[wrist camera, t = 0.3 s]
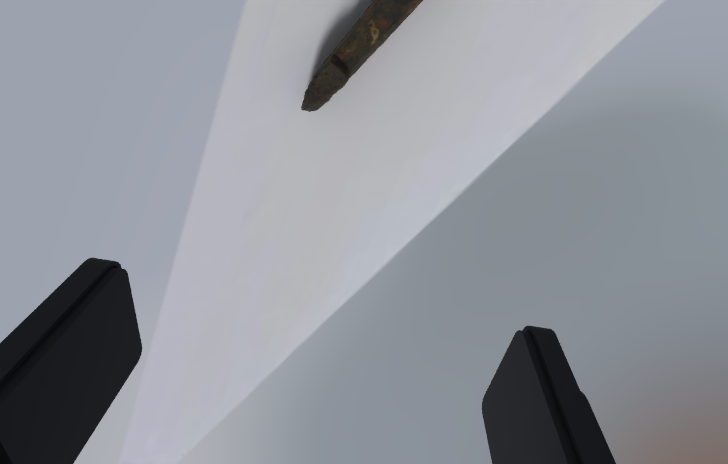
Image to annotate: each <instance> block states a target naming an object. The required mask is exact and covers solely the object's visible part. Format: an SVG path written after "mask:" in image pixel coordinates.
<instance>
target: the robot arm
mask: <svg viewBox="0 0 728 464" xmlns="http://www.w3.org/2000/svg"><path fill="white" fill-rule="evenodd" d="M141 352H142V344H141V339H140V334H139V329H138V323H137V319H136V314H135V309H134V303H133V298H132V294H131V288H130V283H129V278H128V273H127V271H126V270H125V269H122V268H121V265H120V264H119V263H118V262H115V261H110V260H102V259H97V258H89V259H87V260H86V261H85V262H84V263H83V264H82V265H80V266H79V268H78V269H76V271H74V272H73V273H72V274H71V275H70V277H68V278H67V279H66V280H65V281H64V282H63V283H62V284H61V285H60V286H59V287H58V288H57V289H56V290H55V291H54V292H53V293H52V294H51V295H50V296H49V297H48V298H47V299H46V300H45V301H43V302H42V303H41V304H40V305H39V306H38V307H37V308H36V309H35V310H34V311H33V312H32V313H31V314H30V315H29V316H28V317H27V318H26V319H25V320H24V321H23V322H22V323H21V324H20V325H19V326H18V327H17V328H16V329H14V330H13V332H11V333H10V334H9V335H8V337H6V338H5V339H4V340H3V341H2V342H1V343H0V464H73V463H74V461H75V460H76V458H77V457H78V455H79V454H80V452H81V450H82V449H83V447H84V446H85V444H86V443H87V441H88V439H89V438H90V436H91V435H92V433H93V432H94V430H95V428H96V427H97V425H98V424H99V422H100V421H101V419H102V417H103V416H104V414H105V413H106V411H107V410H108V408H109V407H110V405H111V403H112V402H113V400H114V399H115V397H116V396H117V394H118V392H119V391H120V389H121V388H122V386H123V385H124V383H125V381H126V380H127V378H128V377H129V375H130V374H131V372H132V370H133V369H134V367H135V366H136V364H137V363H138V361H139V359H140V356H141ZM482 414H483V419H484V424H485V429H486V434H487V439H488V444H489V449H490V454H491V459H492V464H616V463H615V461H614V458H613V456H612V454H611V452H610V449H609V447H608V445H607V443H606V440H605V438H604V436H603V433H602V431H601V429H600V427H599V425H598V422H597V420H596V418H595V415H594V413H593V411H592V409H591V406H590V404H589V402H588V400H587V398H586V397H585V395H584V394H583V393H582V392H581V391H580V389H579V387H578V385H577V382H576V380H575V378H574V376H573V373H572V371H571V368H570V366H569V364H568V362H567V359H566V357H565V355H564V352H563V350H562V348H561V346H560V343H559V341H558V339H557V336H556V334H555V332H554V331H553V330H551V329H547V328H540V327H534V326H526V327H525V328H524V329H523V331H520V330H519V331H517V332H516V333H515V335H514V337H513V339H512V341H511V343H510V345H509V347H508V349H507V351H506V353H505V355H504V357H503V359H502V361H501V363H500V365H499V367H498V369H497V371H496V374H495V375H494V378H493V379H492V381H491V384H490V385H489V388H488V389H487V391H486V393H485V396H484V398H483V402H482Z"/></svg>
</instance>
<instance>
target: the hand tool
mask: <svg viewBox="0 0 728 464" xmlns="http://www.w3.org/2000/svg"><path fill="white" fill-rule="evenodd" d="M422 1H423V0H374V2H373V3H372V4H371V5H370V7H369V8H368V9H367V10H366V12H365V13H364V14H363V16H362V17H361V18H360V19H359V21H358V22H357V23H356V24H355V26H354V27H353V28H352V29H351V30H350V32H349V33H348V34H347V35H346V36H345V38H344V39H343V40H342V41H341V43H340V44H339V45H338V46H337V48H336V49H335V50H334V52H333V53H332V54H331V55H330V56H329V57H328V58H327V60H326V61H325V62H324V64H323V66H322V67H321V68H320V69H319V70H318V71H317V73H316V74H315V76H314V77H313V80H312V81H311V83H310V84H309V86H308V89H307V90H306V92H305V95H304V100H303V103H302V107H301V108H302V110H305V111H309V112H311V111H315V110H318V109H319V108H320V107H322V106H323V105H324V104H325V103H326V102H328V101H329V100H330V98H331V97H332V95H333V94H335V93H336V92H337V91H338V90H340V89H341V88H343V87H344V85H345V84H346V83H347V81H348V79H349V78H350V77H351V76H352V75H353V74H354V73H355V72H356V71H357V70H358V69H359V68H360V67H361V66H362V65H363V63H364V62H365V61H366V60H367V59H368V58H369V57H370V56H371V55H372V54H373V53H374V52H375V51H376V50H377V49H378V48H379V47H380V46H381V45H382V44H383V43H384V42H385V41H386V40H387V38H388V37H389V36H390V35H391V34H392V33H393V32H394V31H395V30H396V29H397V28H398V27H399V25H400V24H401V23H402V22H403V21H404V20H405V19H406V18H407V17H408V16H409V15H410V14H411V13H412V12H413V11H414V10H415V8H416V7H417V6H418V5H419V4H420V3H421V2H422Z"/></svg>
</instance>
